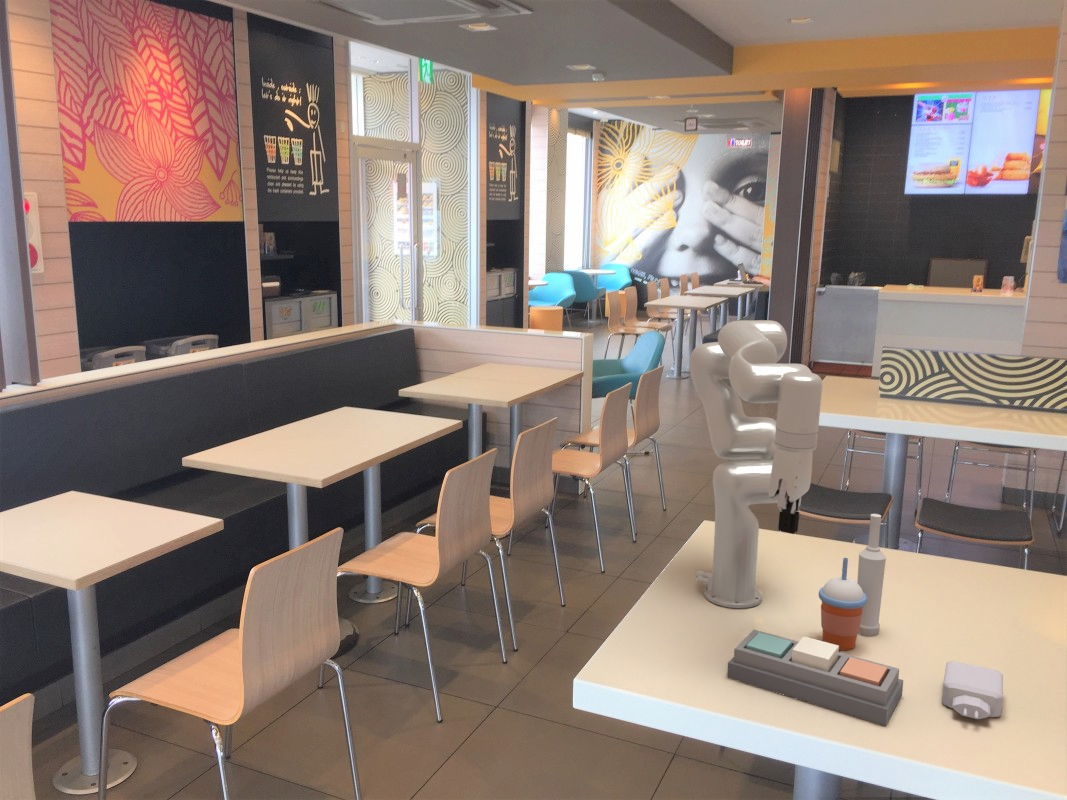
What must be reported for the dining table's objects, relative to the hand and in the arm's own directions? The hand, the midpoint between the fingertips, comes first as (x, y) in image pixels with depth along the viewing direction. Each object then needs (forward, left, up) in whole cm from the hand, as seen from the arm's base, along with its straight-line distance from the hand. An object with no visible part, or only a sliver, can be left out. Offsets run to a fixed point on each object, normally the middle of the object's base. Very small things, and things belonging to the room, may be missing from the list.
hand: (787, 530), depth 167 cm
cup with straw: (+8, +11, -25) cm, 29 cm away
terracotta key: (+18, -9, -22) cm, 30 cm away
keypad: (+9, -9, -25) cm, 28 cm away
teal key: (+1, -9, -22) cm, 24 cm away
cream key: (+9, -9, -21) cm, 24 cm away
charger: (+34, -1, -26) cm, 43 cm away
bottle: (+11, +20, -25) cm, 34 cm away
